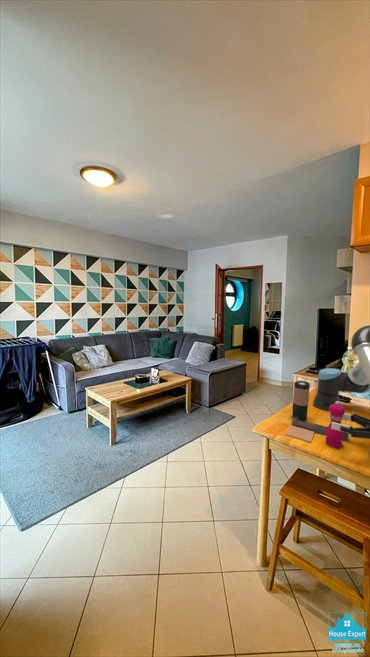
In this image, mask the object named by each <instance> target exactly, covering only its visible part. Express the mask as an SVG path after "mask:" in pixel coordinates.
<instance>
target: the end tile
mask: <svg viewBox="0 0 370 657" xmlns="http://www.w3.org/2000/svg"><path fill="white" fill-rule="evenodd" d="M315 434H316V432H313V431H310V430H306V429H303V428H299V427H296V426H292V424H290V426H289V427H288V429H287V431H286V432H285V436H288V437H290V438H294V439H296V440H300V441H304V442H307V443H310V444H311V443H312V441H313V438H314V435H315Z"/></svg>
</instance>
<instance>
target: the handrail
mask: <svg viewBox="0 0 370 657" xmlns="http://www.w3.org/2000/svg"><path fill="white" fill-rule="evenodd" d="M291 419H292V420H291V425H292V426H296V427H299V428H303V429H306V430H310V431H313V432H315V434H320V435H323V436H326V435H325V432H326V429H327V427H328V426H326V425H322V424H317V423H313V422H311V421H307V420H306V421H303V420H300V419H298V417H296V416H293V417H292V418H291ZM343 434H344V439H343V440H342V442H347V443H348V442H349V436H350V434H349V433H346V432H343Z"/></svg>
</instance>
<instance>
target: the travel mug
mask: <svg viewBox="0 0 370 657" xmlns="http://www.w3.org/2000/svg"><path fill="white" fill-rule="evenodd" d="M310 385H311V384H310V383H309V382H307V381H303V380H297V381H294V385H293V386H294V387H293V396H292V412H291V413H292V415H291V416H292V417H293V416H296V417H298V419H300V420H303V421H307V418H308V412H309V411H308V408H309V401H310V400H309V399H310Z"/></svg>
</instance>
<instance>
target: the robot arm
mask: <svg viewBox="0 0 370 657" xmlns="http://www.w3.org/2000/svg"><path fill="white" fill-rule="evenodd" d="M350 346H351V350H352V352H353V354H354V355H355V356H357V358H358V362H357V364H356V365H355V366H354V367H350V368H349V369H348V370H347V372H346V371H345V372H344V371H341V369H338V368H327V367H326V368H323V369H320V370H319V372H318V376H317V389H316V394H315V396H314V399H313V401H312V405H313V406H314V407H315V408H317V409H319V410H322V411H326V412H330V411H329V407H330V406H331V405H332V404H335V402H336V401H339V402H340V404H339V405H341V406H342V404H341V401H340V398H339V396H340V395H339V394H340V392H341V393H342V392H343V393H345V392H346V393H355V394H364V393H368V392H369V391H370V325H364V326H362V327H359V328H358V329H357V330H356V331H355V332H354V334H353V335H352V338H351V341H350ZM342 416H343V420H344V421H347V422H348V421H349V422H350V423H353V422H354V423H355V424H358V425H360V426H361V427H353V426H352V425H346V424H342V423H341V424H338V423H334V422H332V423H331V429H335V430H338V431H342V432H346V433H349V436H350V437H352V438H356V439H357V438H358V439H367V440H370V419H369V418H367V417H364V416H362V415H359V414H357V413H352V414H348V413H346V412H345V413H344V415H342ZM343 420H342V421H343Z"/></svg>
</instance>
